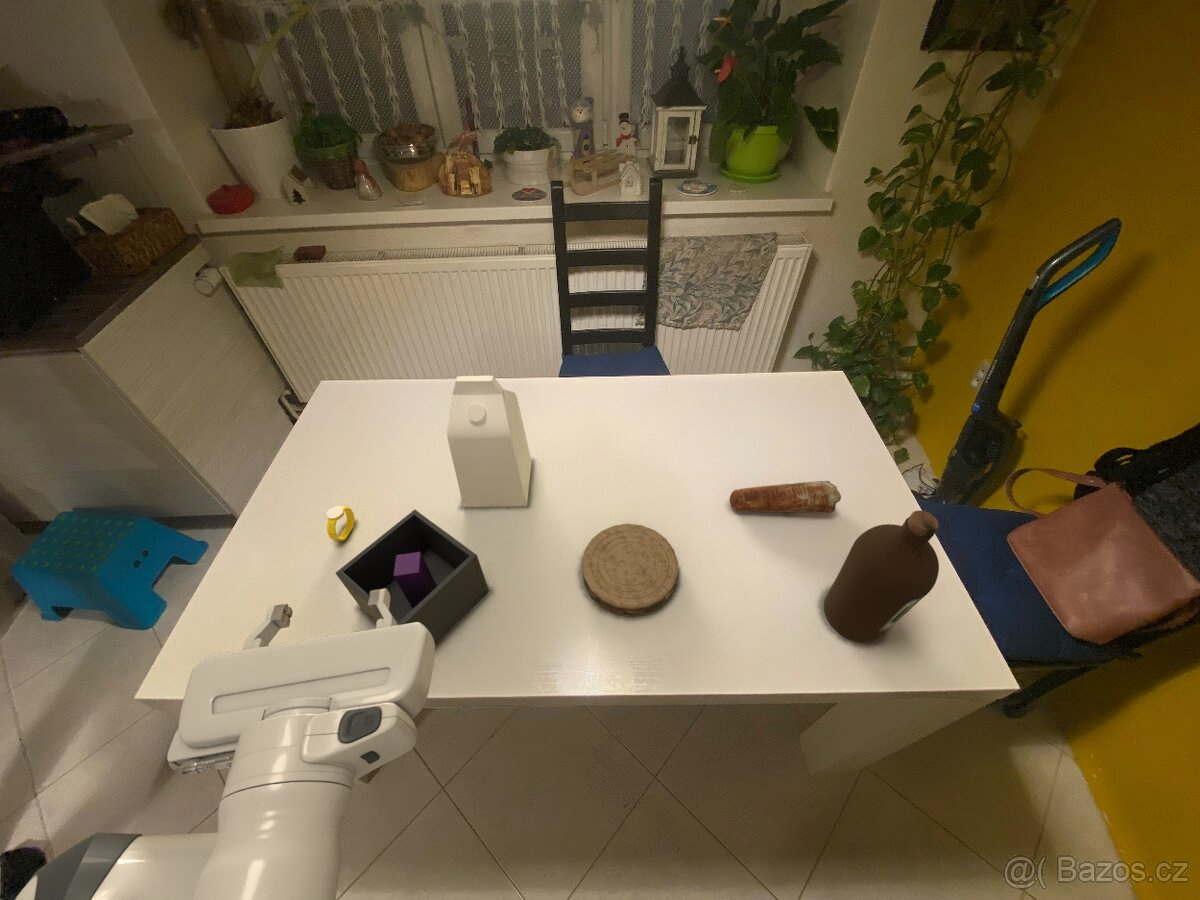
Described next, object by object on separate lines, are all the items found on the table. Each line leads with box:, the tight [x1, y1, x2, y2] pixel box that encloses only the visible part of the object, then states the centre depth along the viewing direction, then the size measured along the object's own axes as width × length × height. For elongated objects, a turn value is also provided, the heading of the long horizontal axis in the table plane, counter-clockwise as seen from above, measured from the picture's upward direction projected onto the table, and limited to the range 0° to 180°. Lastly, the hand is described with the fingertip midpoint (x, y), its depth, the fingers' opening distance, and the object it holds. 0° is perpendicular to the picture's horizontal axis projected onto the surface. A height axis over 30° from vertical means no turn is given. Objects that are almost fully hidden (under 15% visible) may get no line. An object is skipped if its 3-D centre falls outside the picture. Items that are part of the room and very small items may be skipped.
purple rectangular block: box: [394, 552, 436, 608], centre depth 79 cm, size 4×4×10 cm
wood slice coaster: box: [581, 523, 679, 618], centre depth 85 cm, size 16×16×3 cm
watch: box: [325, 505, 355, 542], centre depth 90 cm, size 6×3×6 cm, turn 173°
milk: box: [446, 375, 533, 508], centre depth 91 cm, size 12×12×26 cm
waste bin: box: [335, 509, 490, 646], centre depth 79 cm, size 15×15×11 cm
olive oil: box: [823, 510, 940, 644], centre depth 72 cm, size 11×11×25 cm
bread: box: [729, 480, 842, 514], centre depth 94 cm, size 6×19×6 cm, turn 88°
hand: (331, 599), depth 50 cm, fingers open, 8 cm apart
